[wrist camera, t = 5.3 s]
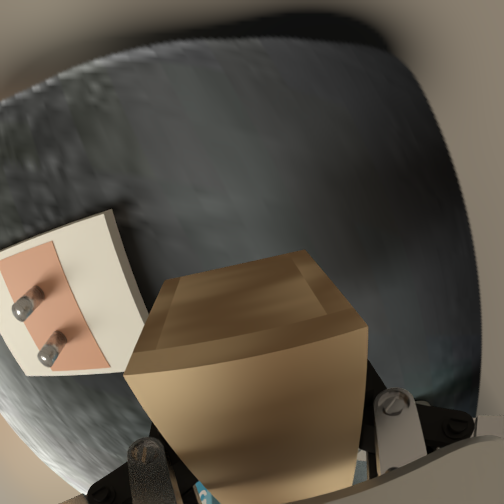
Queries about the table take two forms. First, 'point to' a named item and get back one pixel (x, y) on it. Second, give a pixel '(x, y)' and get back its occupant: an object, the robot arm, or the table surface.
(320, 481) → the tan cardboard box
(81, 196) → the table surface
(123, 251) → the plate
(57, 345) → the pins
